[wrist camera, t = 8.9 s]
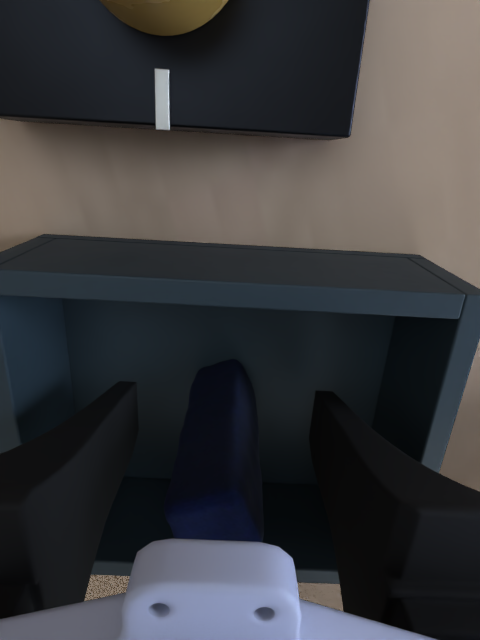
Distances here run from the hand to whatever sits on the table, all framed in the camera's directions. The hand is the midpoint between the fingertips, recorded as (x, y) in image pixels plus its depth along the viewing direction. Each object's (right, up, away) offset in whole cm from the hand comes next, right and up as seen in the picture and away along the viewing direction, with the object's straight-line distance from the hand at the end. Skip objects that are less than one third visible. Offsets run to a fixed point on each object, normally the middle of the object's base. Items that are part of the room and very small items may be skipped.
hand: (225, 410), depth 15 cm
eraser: (0, +1, +2) cm, 2 cm away
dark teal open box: (0, +1, +2) cm, 2 cm away
